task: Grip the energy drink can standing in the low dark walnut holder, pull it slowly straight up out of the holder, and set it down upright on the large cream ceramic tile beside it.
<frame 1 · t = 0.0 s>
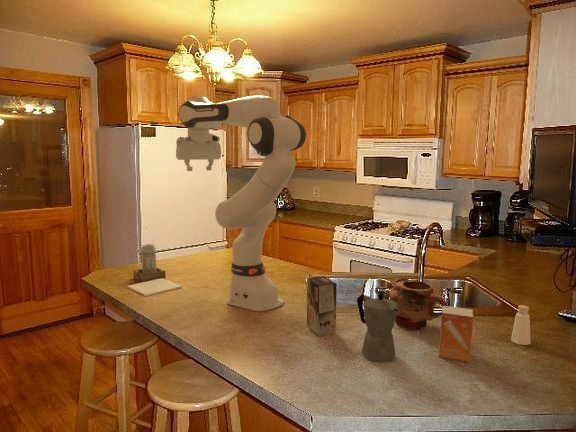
hand: (199, 170, 183), 48 cm above the worktop, tool pointing down, fingers open, 8 cm apart
energy drink can: (149, 278, 194), resting in holder
small box: (454, 355, 122), on the worktop
tile: (154, 287, 181), on the worktop
decorative planter: (415, 326, 142), on the worktop
coffee box: (320, 329, 139), on the worktop
coffeepot: (375, 354, 123), on the worktop
salt shaker: (520, 342, 131), on the worktop
holder: (149, 278, 194), on the worktop
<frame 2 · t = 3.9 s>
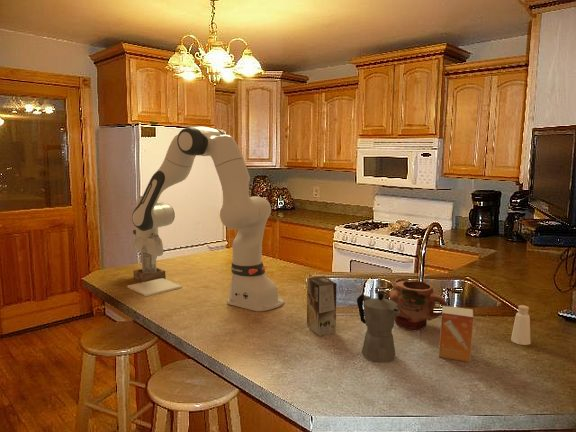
hand: (149, 262, 193), 7 cm above the worktop, tool pointing down, fingers closed on energy drink can, 6 cm apart
energy drink can: (149, 278, 194), resting in holder, touching gripper
everything else where it was.
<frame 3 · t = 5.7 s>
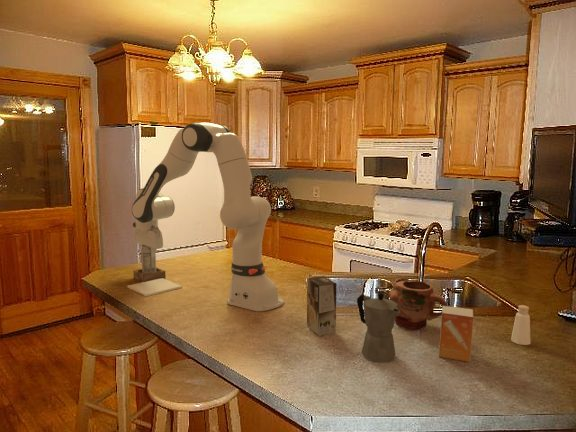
hand: (148, 255, 192), 10 cm above the worktop, tool pointing down, fingers closed on energy drink can, 6 cm apart
energy drink can: (149, 278, 194), resting in holder, touching gripper
everything else where it was.
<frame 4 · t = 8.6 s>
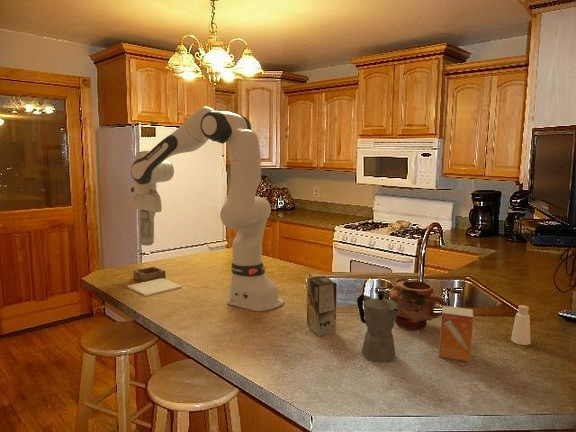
hand: (147, 220, 190), 26 cm above the worktop, tool pointing down, fingers closed on energy drink can, 6 cm apart
energy drink can: (146, 244, 193), point 15 cm above the worktop, touching gripper
everything else where it was.
when the fingers open (14 cm above the worktop, at t = 13.8 s): energy drink can drops 1 cm, resting on tile.
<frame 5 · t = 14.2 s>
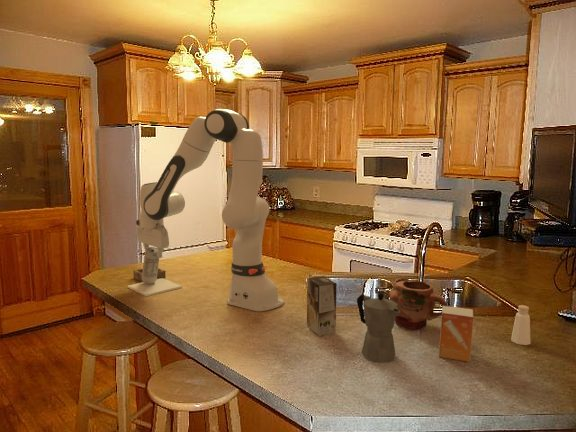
hand: (153, 255, 179), 14 cm above the worktop, tool pointing down, fingers open, 8 cm apart
energy drink can: (148, 281, 184), point 2 cm above the worktop, touching gripper, tile
everything else where it was.
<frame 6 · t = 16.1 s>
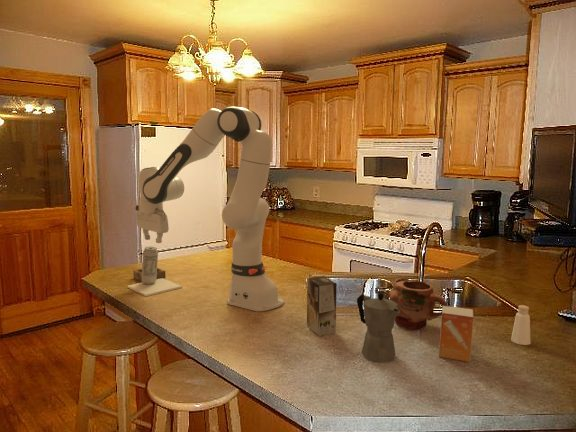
hand: (153, 241, 178), 20 cm above the worktop, tool pointing down, fingers open, 8 cm apart
energy drink can: (148, 282, 184), point 1 cm above the worktop, touching tile
everything else where it was.
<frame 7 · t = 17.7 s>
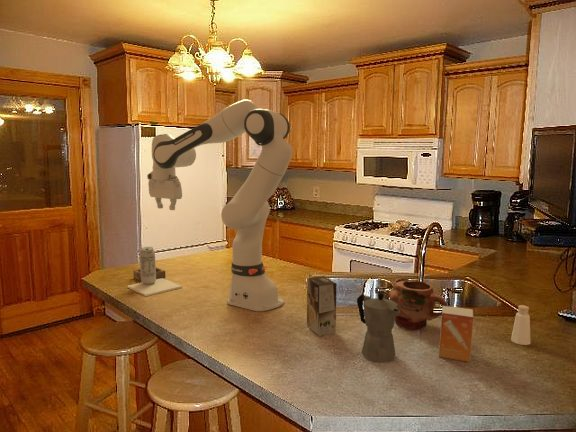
hand: (166, 209, 178), 33 cm above the worktop, tool pointing down, fingers open, 8 cm apart
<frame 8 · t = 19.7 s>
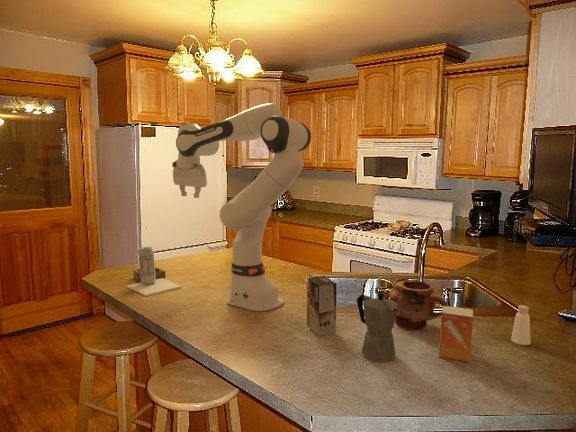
hand: (190, 197, 182), 37 cm above the worktop, tool pointing down, fingers open, 8 cm apart
at the end: energy drink can inside the target area on the tile (5.0 cm from its centre), point 0.9 cm above the tile's base; energy drink can tilted 5°; the gripper is holding nothing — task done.
